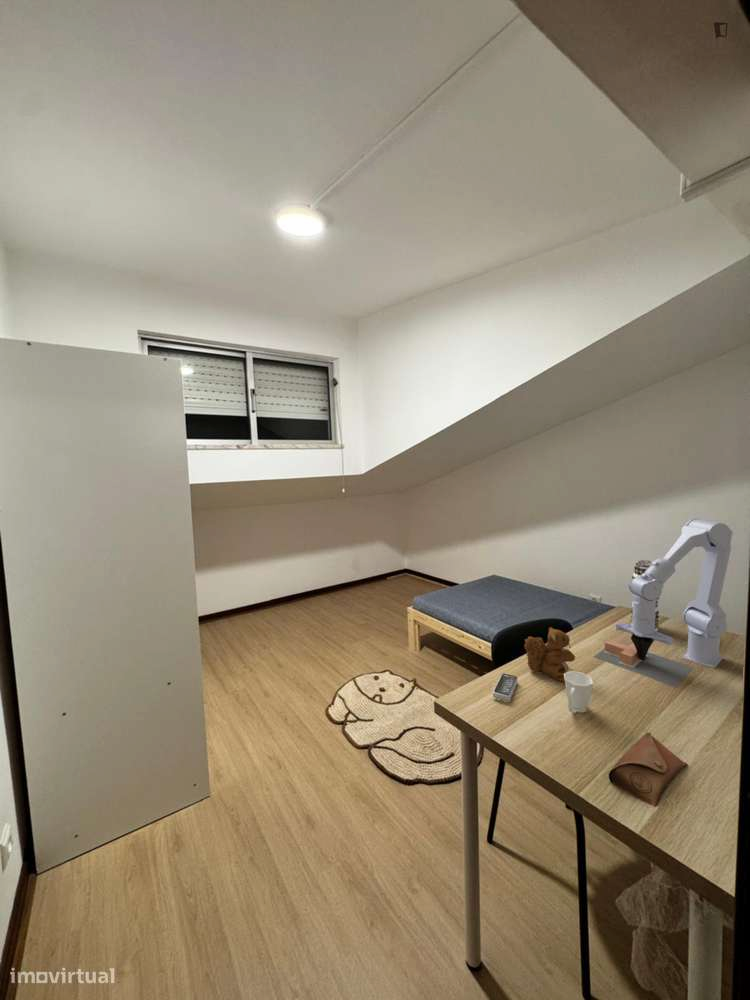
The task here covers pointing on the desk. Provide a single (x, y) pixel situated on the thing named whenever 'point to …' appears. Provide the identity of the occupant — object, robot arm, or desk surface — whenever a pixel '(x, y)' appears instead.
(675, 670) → the mat
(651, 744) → the sunglasses case
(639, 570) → the white patterned cylinder
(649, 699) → the desk surface
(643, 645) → the robot arm
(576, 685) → the cup
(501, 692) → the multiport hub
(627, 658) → the t block
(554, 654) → the stuffed squirrel
